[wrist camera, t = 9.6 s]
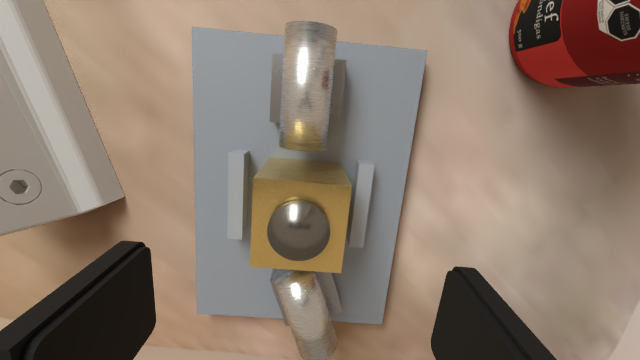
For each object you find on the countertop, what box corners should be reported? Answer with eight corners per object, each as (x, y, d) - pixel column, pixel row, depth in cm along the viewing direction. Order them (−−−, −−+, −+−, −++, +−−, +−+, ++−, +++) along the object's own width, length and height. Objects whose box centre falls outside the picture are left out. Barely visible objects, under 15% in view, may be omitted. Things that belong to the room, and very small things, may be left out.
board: (200, 32, 20) (181, 20, 17) (419, 54, 21) (436, 46, 18) (203, 301, 25) (189, 327, 22) (378, 312, 26) (386, 338, 23)
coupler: (333, 228, 22) (342, 279, 16) (266, 223, 22) (247, 273, 15) (340, 163, 21) (353, 189, 14) (269, 156, 21) (250, 181, 14)
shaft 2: (271, 247, 24) (258, 293, 18) (324, 234, 24) (327, 276, 18) (292, 308, 26) (286, 369, 20) (341, 296, 25) (350, 353, 20)
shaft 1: (279, 41, 20) (266, 16, 14) (343, 48, 20) (355, 26, 15) (274, 135, 22) (260, 147, 16) (334, 140, 22) (341, 154, 16)
